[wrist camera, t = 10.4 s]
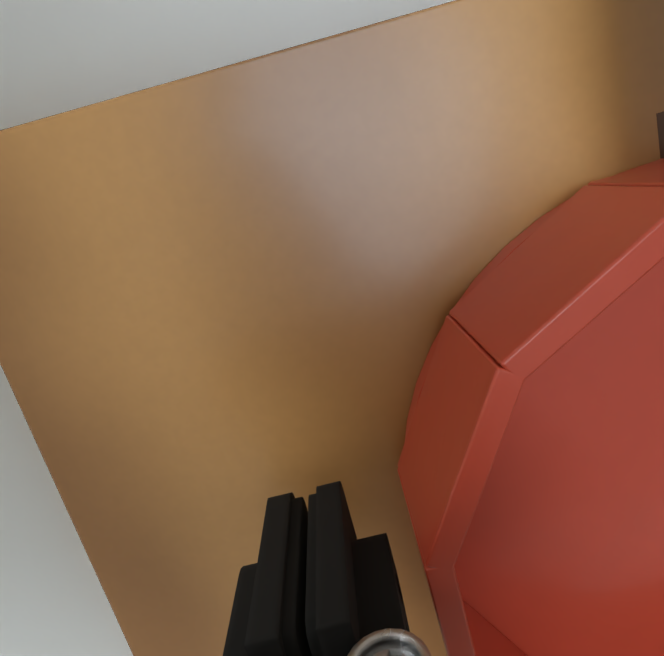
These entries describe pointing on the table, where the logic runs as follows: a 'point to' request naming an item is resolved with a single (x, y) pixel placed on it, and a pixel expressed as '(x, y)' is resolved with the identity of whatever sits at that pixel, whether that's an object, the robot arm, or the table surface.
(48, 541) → the table surface
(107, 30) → the table surface
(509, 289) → the skillet
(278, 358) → the board
